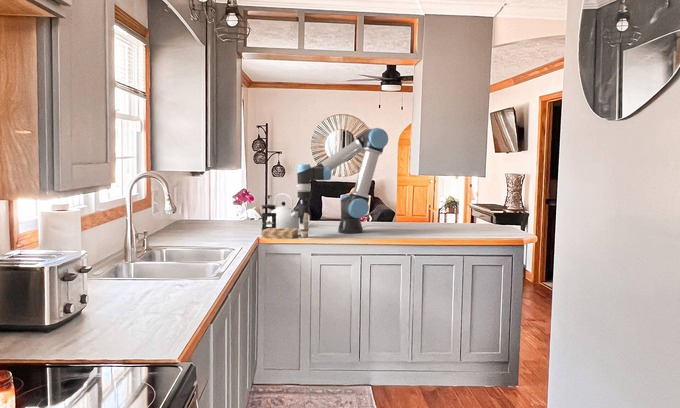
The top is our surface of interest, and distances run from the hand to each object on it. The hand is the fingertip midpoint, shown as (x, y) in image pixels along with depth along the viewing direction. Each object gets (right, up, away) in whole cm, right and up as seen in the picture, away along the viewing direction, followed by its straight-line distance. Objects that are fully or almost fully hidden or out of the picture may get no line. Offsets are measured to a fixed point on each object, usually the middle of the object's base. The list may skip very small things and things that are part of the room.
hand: (304, 227), depth 324 cm
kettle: (-15, -2, +42) cm, 44 cm away
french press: (-22, -4, +16) cm, 28 cm away
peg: (0, -6, +1) cm, 6 cm away
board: (-15, -5, +4) cm, 16 cm away
